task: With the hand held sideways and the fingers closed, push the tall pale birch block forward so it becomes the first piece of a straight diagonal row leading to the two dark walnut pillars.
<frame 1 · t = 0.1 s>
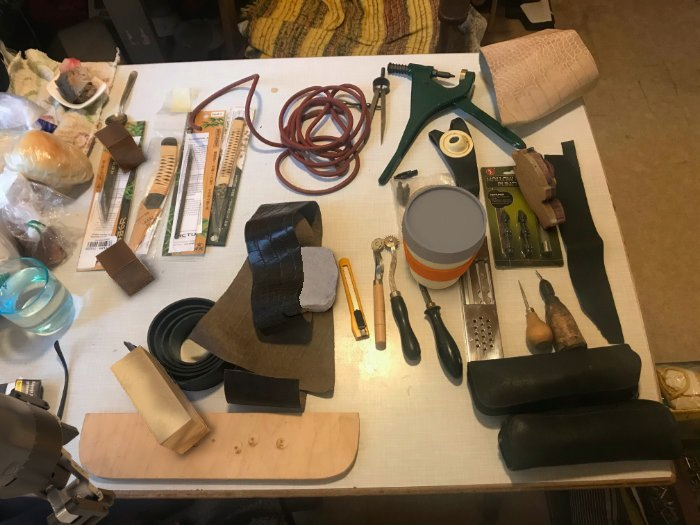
hand: (88, 468, 55), 21 cm above the table, tool pointing down, fingers open, 8 cm apart
pillar far: (130, 161, 103), on the table
pillar near: (136, 279, 90), on the table
birch block: (172, 407, 78), on the table
stone block: (310, 284, 88), on the table
wooden carving: (531, 201, 93), on the table
reusable coffee cup: (435, 266, 88), on the table
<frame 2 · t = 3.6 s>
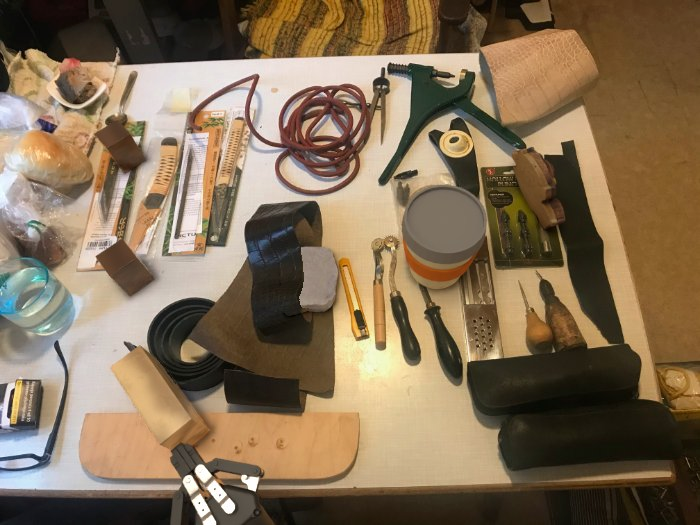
hand: (177, 447, 62), 14 cm above the table, tool horizontal, fingers closed
nothing on the table moved.
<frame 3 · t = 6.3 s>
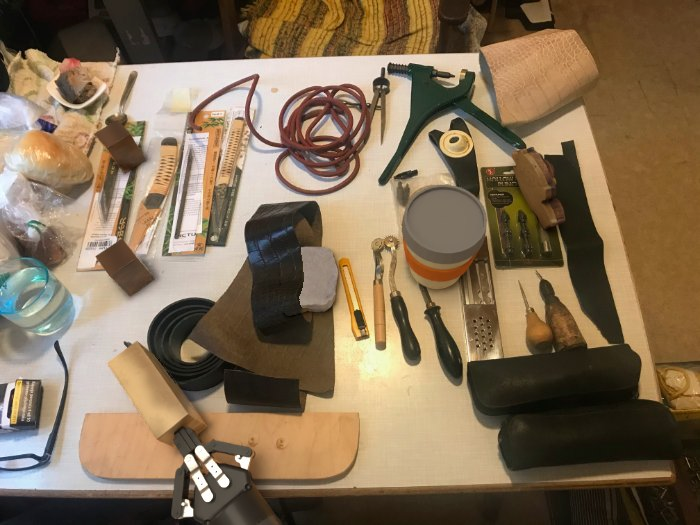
hand: (180, 430, 71), 6 cm above the table, tool horizontal, fingers closed
birch block: (169, 403, 79), on the table, touching gripper
everything else where it was.
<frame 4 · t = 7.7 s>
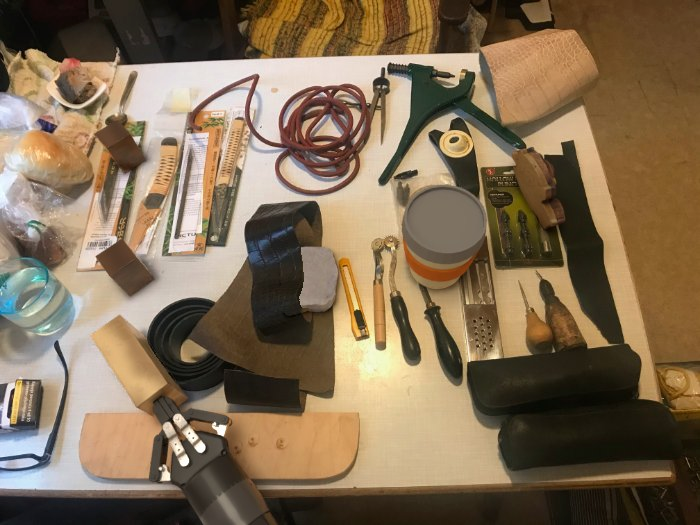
hand: (159, 400, 73), 6 cm above the table, tool horizontal, fingers closed
birch block: (152, 376, 81), on the table, touching gripper
everything else where it was.
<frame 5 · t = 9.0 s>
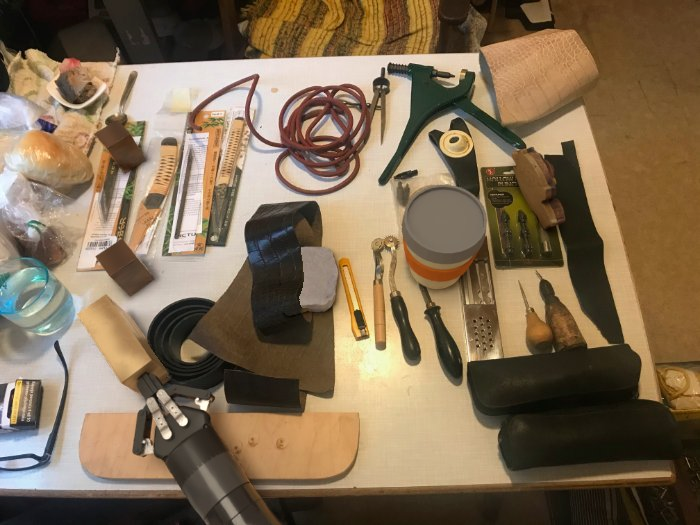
hand: (143, 376, 74), 6 cm above the table, tool horizontal, fingers closed
birch block: (138, 356, 83), on the table, touching gripper
everything else where it was.
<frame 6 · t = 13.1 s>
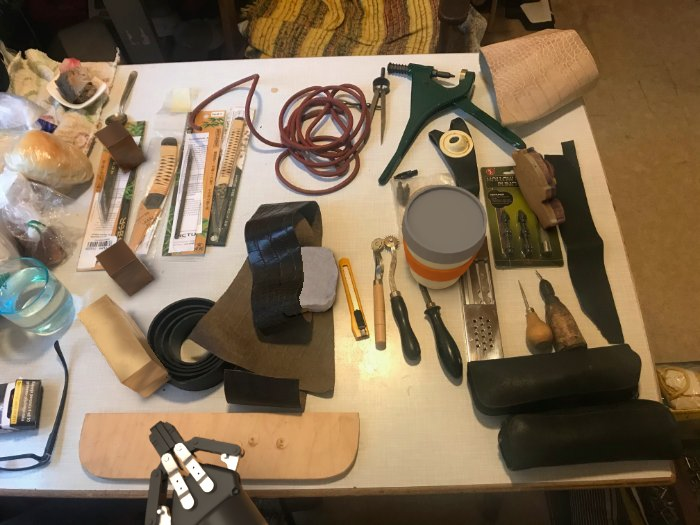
hand: (157, 426, 61), 16 cm above the table, tool horizontal, fingers closed
birch block: (138, 356, 83), on the table
everything else where it was.
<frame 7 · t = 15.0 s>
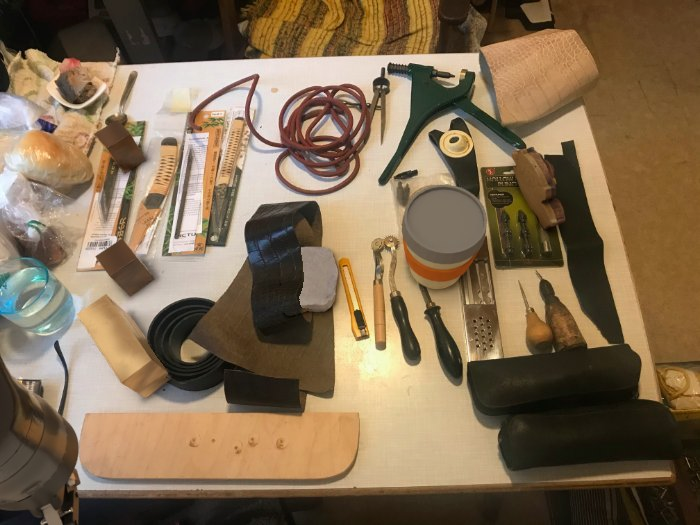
hand: (68, 482, 52), 23 cm above the table, tool tilted 15°, fingers closed
nothing on the table moved.
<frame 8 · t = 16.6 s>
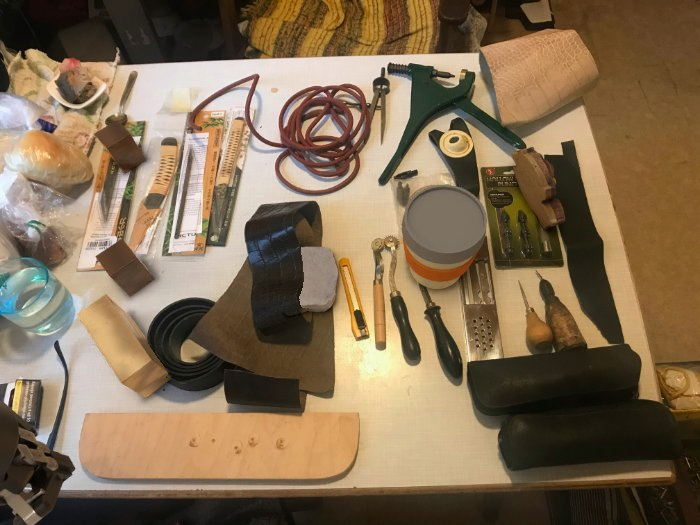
hand: (63, 470, 49), 27 cm above the table, tool pointing down, fingers closed
nothing on the table moved.
at the end: birch block 0.9 cm from the target spot on the table beside the pillar far, on the table; birch block tilted 0°; pillar far moved 0.0 cm from its start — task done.
